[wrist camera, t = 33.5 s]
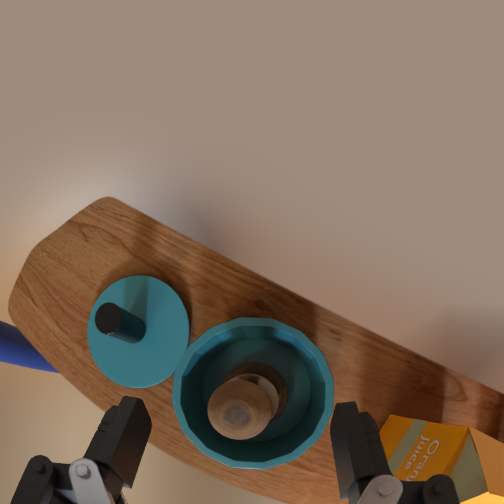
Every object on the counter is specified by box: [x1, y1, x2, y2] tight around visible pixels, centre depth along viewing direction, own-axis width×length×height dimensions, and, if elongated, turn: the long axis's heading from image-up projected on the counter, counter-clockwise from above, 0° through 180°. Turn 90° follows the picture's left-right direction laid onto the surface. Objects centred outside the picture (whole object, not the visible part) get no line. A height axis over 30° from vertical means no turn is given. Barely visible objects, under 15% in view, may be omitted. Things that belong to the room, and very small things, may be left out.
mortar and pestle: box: [208, 362, 288, 440], centre depth 19 cm, size 7×6×18 cm
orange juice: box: [379, 414, 504, 504], centre depth 14 cm, size 8×9×20 cm
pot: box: [172, 317, 334, 469], centre depth 24 cm, size 13×13×8 cm
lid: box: [88, 275, 190, 388], centre depth 28 cm, size 13×13×7 cm
